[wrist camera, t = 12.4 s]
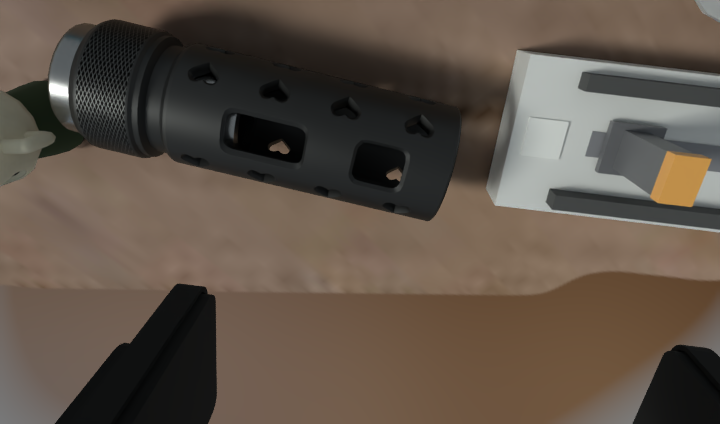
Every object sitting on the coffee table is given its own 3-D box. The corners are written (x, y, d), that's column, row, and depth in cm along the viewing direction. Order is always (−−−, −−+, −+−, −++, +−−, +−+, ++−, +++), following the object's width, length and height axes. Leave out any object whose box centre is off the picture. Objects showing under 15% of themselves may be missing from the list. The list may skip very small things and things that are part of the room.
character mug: (10, 154, 45) (-128, 208, 33) (-15, 76, 42) (-176, 102, 30) (124, 153, 44) (26, 207, 32) (106, 72, 41) (-10, 99, 29)
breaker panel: (517, 49, 39) (531, 54, 35) (839, 87, 38) (890, 96, 35) (485, 188, 43) (495, 206, 40) (773, 223, 43) (811, 244, 39)
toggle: (610, 120, 36) (663, 146, 29) (663, 126, 36) (729, 154, 29) (594, 170, 38) (641, 207, 31) (645, 176, 38) (703, 214, 31)
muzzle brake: (420, 194, 44) (429, 246, 35) (118, 122, 43) (42, 156, 34) (452, 92, 40) (471, 118, 31) (122, 10, 39) (36, 12, 30)
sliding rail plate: (582, 71, 35) (590, 74, 34) (826, 100, 35) (846, 104, 34) (545, 202, 39) (551, 209, 38) (764, 228, 39) (779, 237, 38)
